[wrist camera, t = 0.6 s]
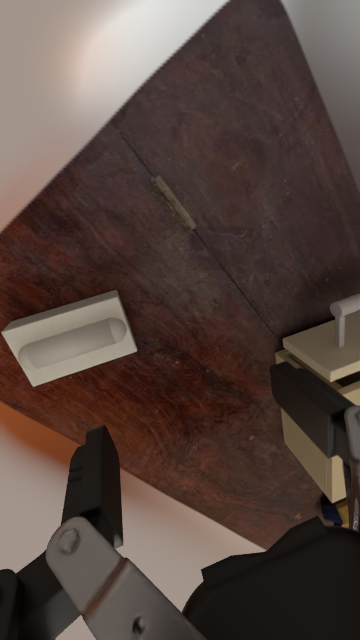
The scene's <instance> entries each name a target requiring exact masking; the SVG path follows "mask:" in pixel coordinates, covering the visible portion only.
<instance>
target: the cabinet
mask: <svg viewBox="0 0 360 640" xmlns="http://www.w3.org/2000/svg"><path fill="white" fill-rule="evenodd" d="M292 355H293V354H292V353H291V352H289V351H288V350H287V349H284V350H281V351H278V352H275V357H276V364H278V363H281V362H284V361H287V362H289V363H290V364H291V365H292V366H294V367H295V368H296V369H297V368H302V367H301V366H300V365H299V364H297V363H296V362H295V361H293V360H292V359H291V356H292ZM303 369H304V368H303ZM336 391H338V392H339V393H340V394H342V395H343V396H344V397H346V398H347V399H348V400H350V401H351V402H352V403H354V404H355V405H356V406H357V405H360V381H358V382H355V383H353V384H350V385H348V386H345V387H343V388H340V389H338V390H336ZM281 415H282V424H283V434H284V442H285V444H286V445H287V446H288V448H289V449H290V450H291V451H292V453H293V454H294V455H295V456H296V458H297V459H298V460H299V462H300V463H301V464H302V465H303V467H304V468H305V469H306V470H307V472H308V473H309V474H310V476H311V477H312V478H313V479H314V481H315V482H316V483H317V484H318V486H319V487H320V488H321V490H322V491H323V492H324V493H325V495H326V496H327V497H328V499H329V500H330V501H331V502H332V503H334V502H336V501H338V500H341V499H343V498H345V497H346V489H345V482H344V474H343V466H342V459H341V458H340V457H339V456H338V455H337V456H334V457H332V458H330V459H328V458H327V457H326V456H325V455H324V454H323V453H322V452H321V450H320V449H319V448H318V447H317V446H316V445H315V444H314V443H313V442H312V441H311V440H310V438H309V437H308V436H307V435H306V434H305V433H304V432H303V431H302V430H301V429H300V428H299V426H298V425H297V424H296V423H295V422H294V421H293V420H292V419H291V418H290V417H289V416H288V414H287V413H286V412H285V411H284V410H283V409H282V408H281Z"/></svg>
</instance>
